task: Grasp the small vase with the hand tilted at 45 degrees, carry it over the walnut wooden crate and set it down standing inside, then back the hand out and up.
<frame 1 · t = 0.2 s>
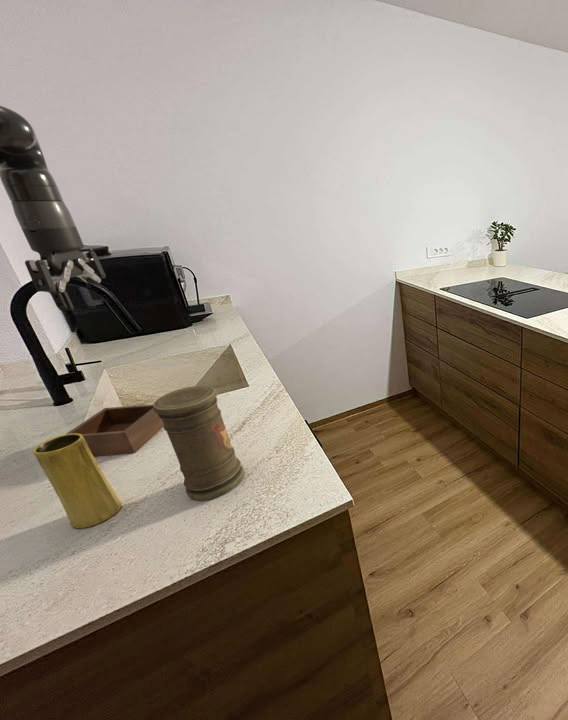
hand: (83, 304, 81), 27 cm above the counter, tool pointing down, fingers open, 8 cm apart
crate: (123, 439, 81), on the counter
container: (217, 483, 69), on the counter
vase: (98, 515, 62), on the counter
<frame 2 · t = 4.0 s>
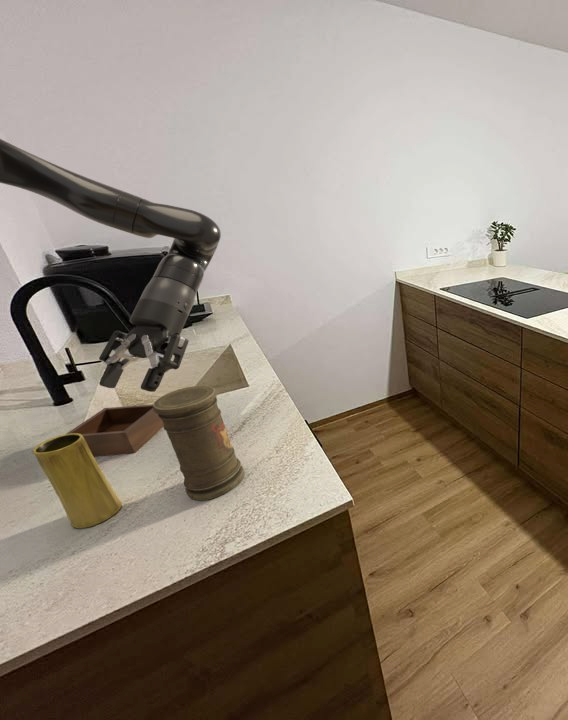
hand: (126, 388, 65), 17 cm above the counter, tool tilted 45°, fingers open, 8 cm apart
nothing on the counter moved.
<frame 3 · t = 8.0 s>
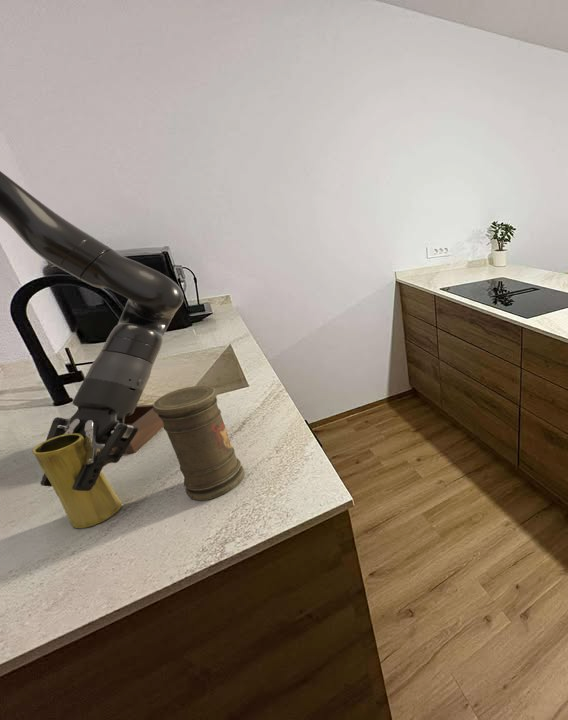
hand: (65, 487, 57), 7 cm above the counter, tool tilted 45°, fingers closed on vase, 5 cm apart
vase: (98, 515, 62), on the counter, touching gripper
everything else where it was.
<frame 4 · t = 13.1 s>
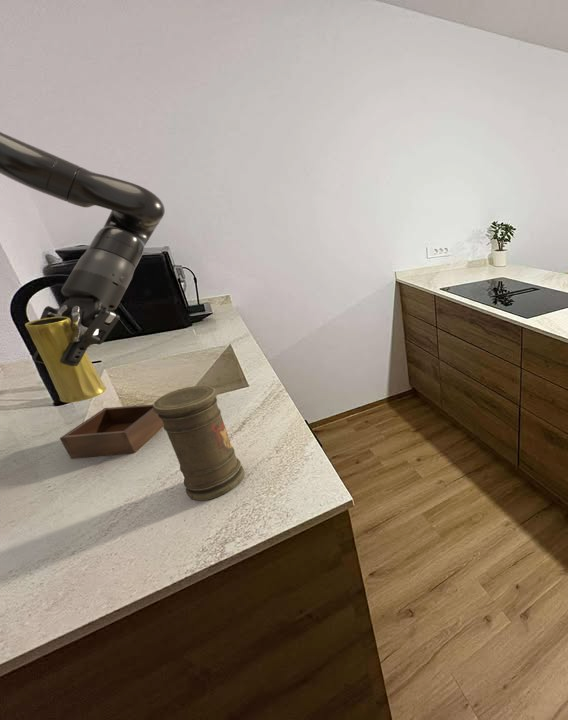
hand: (54, 363, 64), 22 cm above the counter, tool tilted 45°, fingers closed on vase, 5 cm apart
vase: (84, 395, 69), point 15 cm above the counter, touching gripper
everything else where it was.
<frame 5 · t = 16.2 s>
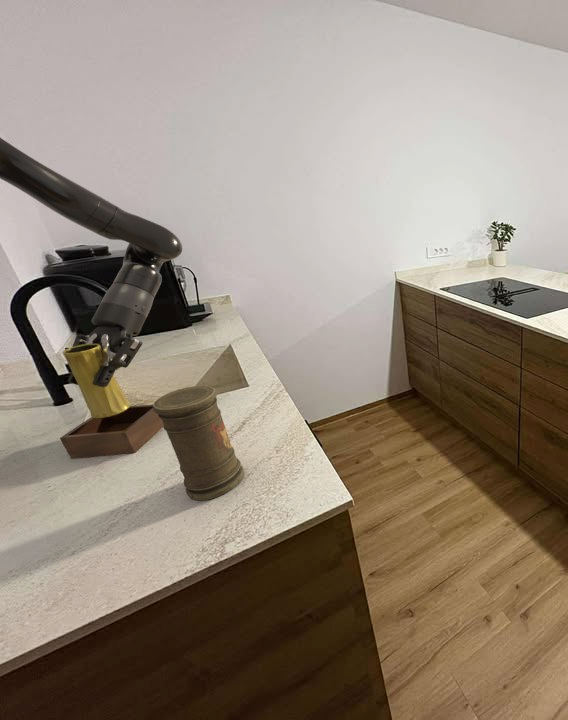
hand: (87, 384, 74), 14 cm above the counter, tool tilted 45°, fingers closed on vase, 5 cm apart
vase: (111, 411, 79), point 7 cm above the counter, touching gripper
everything else where it was.
when the fingers open (8 cm above the counter, at t = 18.4 s): vase stays where it is, resting on crate.
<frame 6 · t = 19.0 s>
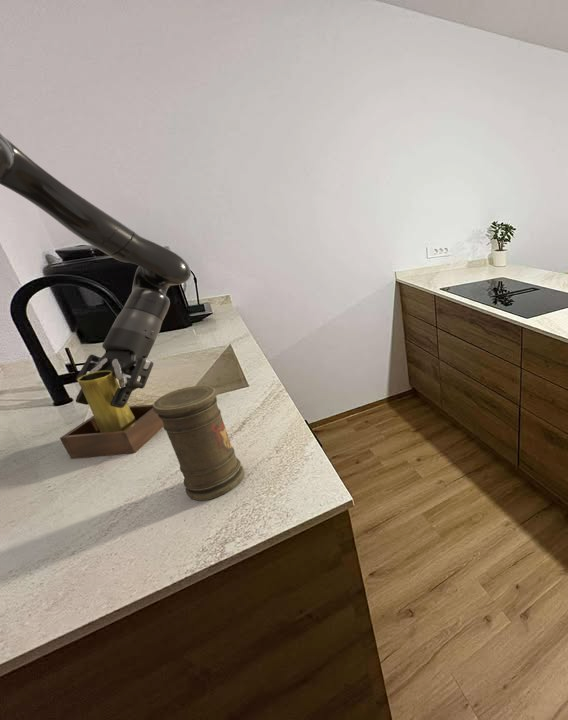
hand: (99, 405, 76), 9 cm above the counter, tool tilted 45°, fingers open, 8 cm apart
vase: (123, 435, 81), point 1 cm above the counter, touching crate
everything else where it was.
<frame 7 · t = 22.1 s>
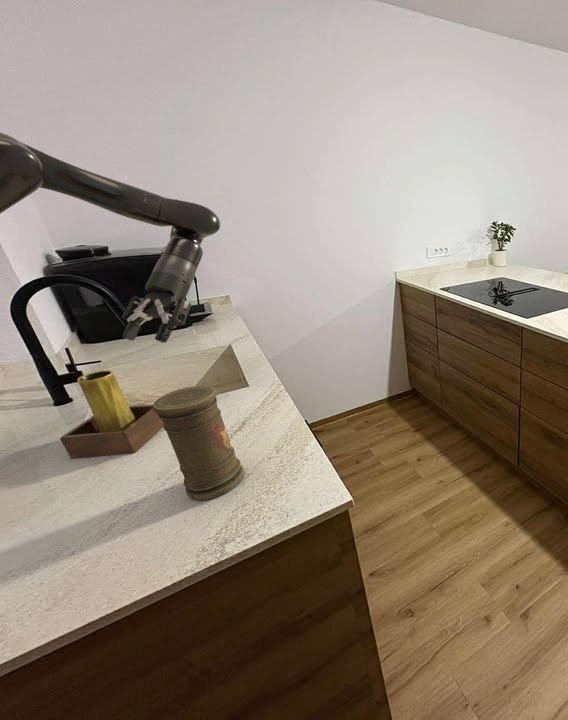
hand: (143, 340, 84), 19 cm above the counter, tool tilted 45°, fingers open, 8 cm apart
nothing on the counter moved.
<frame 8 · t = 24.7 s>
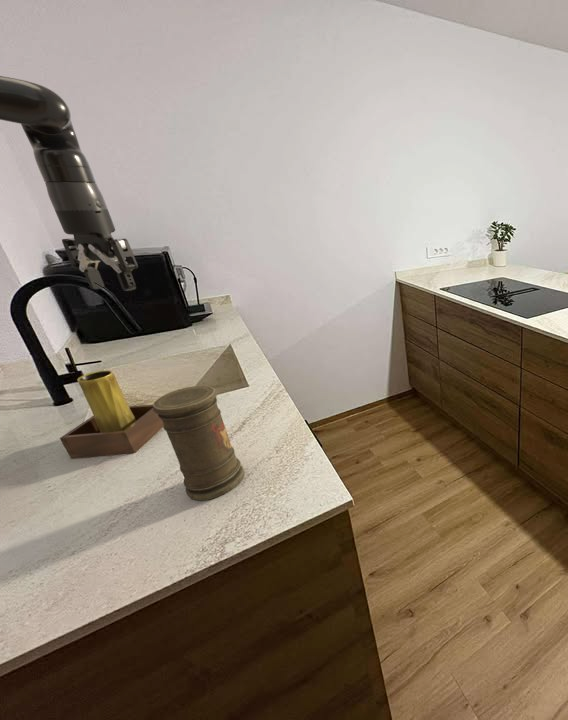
hand: (114, 289, 80), 30 cm above the counter, tool pointing down, fingers open, 8 cm apart
nothing on the counter moved.
at the end: vase inside the target area in the crate (0.2 cm from its centre), point 0.8 cm above the crate's base; vase tilted 0°; the gripper is holding nothing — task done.
